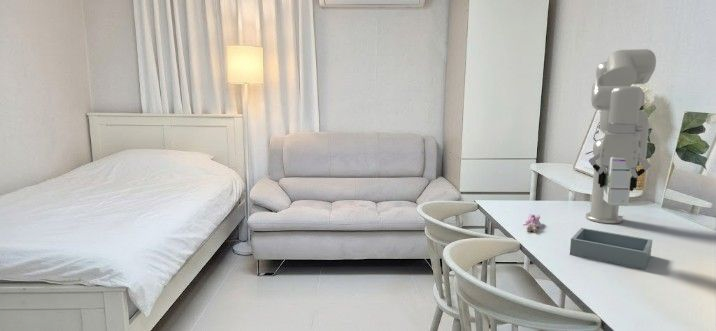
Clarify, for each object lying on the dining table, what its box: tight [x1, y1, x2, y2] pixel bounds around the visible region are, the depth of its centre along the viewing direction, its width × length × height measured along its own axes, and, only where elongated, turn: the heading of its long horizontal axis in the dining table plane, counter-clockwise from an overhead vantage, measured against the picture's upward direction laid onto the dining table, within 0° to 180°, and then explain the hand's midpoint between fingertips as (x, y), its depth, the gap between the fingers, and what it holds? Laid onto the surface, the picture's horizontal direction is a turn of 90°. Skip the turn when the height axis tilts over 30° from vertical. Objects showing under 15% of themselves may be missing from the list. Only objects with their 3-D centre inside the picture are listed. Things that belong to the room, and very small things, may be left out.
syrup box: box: [603, 157, 632, 207], centre depth 139 cm, size 6×6×14 cm
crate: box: [569, 227, 653, 271], centre depth 143 cm, size 14×20×5 cm
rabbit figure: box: [522, 213, 543, 234], centre depth 170 cm, size 6×6×15 cm
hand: (616, 188), depth 140 cm, fingers closed on syrup box, 7 cm apart
